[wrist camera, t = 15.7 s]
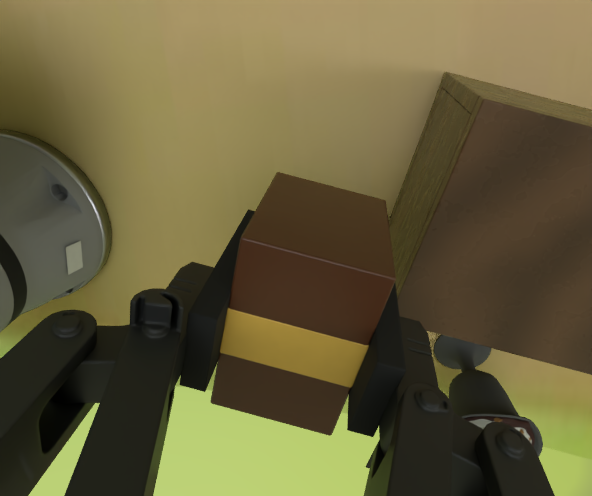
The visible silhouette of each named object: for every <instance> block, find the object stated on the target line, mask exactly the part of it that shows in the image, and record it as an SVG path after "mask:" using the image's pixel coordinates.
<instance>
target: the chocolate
mask: <svg viewBox="0 0 592 496" xmlns="http://www.w3.org/2000/svg"><path fill="white" fill-rule="evenodd" d="M395 281H396V275H395V268H394V260H393V253H392V245H391V238H390V230H389V223H388V215H387V208H386V201H385V200H382V199H378V198H374V197H370V196H367V195H363V194H359V193H355V192H351V191H348V190H344V189H340V188H336V187H333V186H329V185H325V184H321V183H317V182H314V181H310V180H306V179H302V178H299V177H295V176H291V175H287V174H284V173H280V172H277V173H276V175H275V177H274V179H273V180H272V182H271V184H270V186H269V188H268V189H267V191H266V193H265V195H264V197H263V198H262V200H261V202H260V204H259V206H258V207H257V209H256V211H255V213H254V215H253V216H252V218H251V220H250V222H249V224H248V225H247V227H246V229H245V231H244V233H243V234H242V236H241V238H240V243H239V249H238V254H237V260H236V265H235V271H234V276H233V282H232V287H231V294H230V300H229V305H228V309H227V315H226V320H225V326H224V331H223V337H222V342H221V347H220V354H219V359H218V364H217V369H216V375H215V380H214V386H213V391H212V396H211V403H212V404H216V405H220V406H223V407H227V408H230V409H235V410H238V411H241V412H245V413H249V414H252V415H256V416H260V417H264V418H267V419H271V420H275V421H278V422H282V423H286V424H290V425H293V426H297V427H300V428H304V429H308V430H311V431H315V432H319V433H322V434H326V435H332V433H333V430H334V428H335V426H336V423H337V420H338V418H339V416H340V414H341V411H342V409H343V406H344V404H345V401H346V399H347V397H348V394H349V392H350V389H351V387H352V386H353V384H354V381H355V379H356V377H357V374H358V372H359V369H360V367H361V364H362V362H363V360H364V357H365V355H366V352H367V350H368V348H369V343H370V341H371V339H372V336H373V334H374V331H375V329H376V327H377V324H378V322H379V319H380V317H381V315H382V312H383V310H384V307H385V305H386V302H387V300H388V298H389V295H390V293H391V290H392V288H393V286H394V283H395Z"/></svg>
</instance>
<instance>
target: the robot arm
mask: <svg viewBox="0 0 592 496" xmlns="http://www.w3.org/2000/svg"><path fill="white" fill-rule="evenodd" d="M254 213H255V211H252V210H248V211H247V213H246V214H245V216H244V218H243V220H242V221H241V223H240V225H239V226H238V228H237V230H236V232H235V233H234V235H233V237H232V238H231V240H230V242H229V244H228V245H227V247H226V249H225V250H224V252H223V254H222V256H221V257H220V259H219V261H218V262H217V264H216V266H215V268H213V267H210V266H206V265H202V264H198V263H195V262H191V263H189V264H188V265H186V266H184V267H182V268H181V269H180V270H179V271H178V273H177V274H176V276H175V277H174V279H173V280H172V281H171V283H170V284H169V286H168V287H167V288H166V289H148V290H144V291H142V292H140V293H138V294H136V295H135V296H134V297H133V298H132V300H131V303H130V325H125V326H97V323H96V320H95V318H94V317H93V316H92V315H91V314H89V313H87V312H85V311H79V310H64V311H60V312H57V313H54V314H51V315H50V316H48V317H47V318H45V319H44V320H42V321H41V322H40V323H39V324H38V325H37V326H36V327H35V328H34V329H33V330H31V331H30V332H29V333H28V334H27V335H26V336H25V337H24V338H23V339H22V340H21V341H19V342H18V343H17V344H16V345H15V346H14V347H13V348H12V349H11V350H10V351H8V352H7V353H6V354H5V355H4V356H3V357H2V358H1V359H0V496H28V495H29V494H30V492H31V491H32V489H33V488H34V487H35V485H36V484H37V483H38V481H39V480H40V478H41V477H42V476H43V474H44V473H45V471H46V470H47V469H48V467H49V466H50V465H51V463H52V462H53V460H54V459H55V458H56V456H57V455H58V453H59V452H60V451H61V449H62V448H63V447H64V445H65V444H66V442H67V441H68V440H69V438H70V437H71V436H72V434H73V433H74V431H75V430H76V429H77V427H78V426H79V424H80V423H81V422H82V420H83V419H84V418H85V416H86V415H87V413H88V412H89V411H90V409H91V408H92V406H93V405H94V404H95V403H100V404H99V407H98V410H97V413H96V415H95V417H94V420H93V423H92V425H91V428H90V430H89V433H88V436H87V438H86V441H85V444H84V446H83V449H82V452H81V454H80V457H79V459H78V462H77V465H76V467H75V470H74V473H73V475H72V477H71V480H70V483H69V485H68V488H67V490H66V493H65V496H153V493H154V488H155V483H156V479H157V474H158V469H159V464H160V460H161V455H162V450H163V445H164V441H165V436H166V431H167V425H168V421H169V416H170V412H171V407H172V401H173V398H174V389H175V385H176V383H177V381H178V379H179V377H180V375H181V378H180V385H182V386H186V387H189V388H194V389H197V390H200V391H204V392H205V391H206V388H207V386H208V384H209V381H210V379H211V376H212V374H213V372H214V369H215V367H216V364H217V362H218V359H219V354H220V347H221V342H222V337H223V331H224V326H225V320H226V315H227V309H228V305H229V300H230V294H231V287H232V282H233V276H234V271H235V265H236V260H237V254H238V249H239V243H240V238H241V236H242V234H243V233H244V231H245V229H246V227H247V225H248V224H249V222H250V220H251V218H252V216H253V215H254ZM110 248H111V227H110V221H109V218H108V214H107V211H106V209H105V206H104V204H103V202H102V199H101V198H100V196H99V194H98V192H97V191H96V189H95V188H94V186H93V185H92V183H91V182H90V181H89V179H88V178H87V177H86V175H85V174H84V173H83V172H82V171H81V170H80V169H79V168H78V167H77V166H76V165H75V164H74V163H73V162H72V161H71V160H70V159H68V158H67V157H66V156H65V155H63V154H62V153H61V152H59V151H58V150H56V149H55V148H53V147H52V146H50V145H48V144H47V143H45V142H43V141H41V140H39V139H36V138H34V137H31V136H29V135H26V134H23V133H19V132H14V131H8V130H0V332H1V331H2V330H3V329H4V328H5V327H7V326H8V325H9V324H10V323H11V322H12V321H13V320H15V319H16V318H17V317H18V316H19V315H20V314H22V313H25V312H27V311H30V310H32V309H35V308H37V307H39V306H41V305H43V304H45V303H47V302H49V301H50V300H52V299H57V298H61V297H64V296H66V295H69V294H71V293H73V292H75V291H77V290H78V289H80V288H81V287H83V286H84V285H86V284H87V283H88V282H89V281H90V280H91V279H92V278H93V277H94V276H95V275H96V274H97V273H98V272H99V271H100V270H101V269H102V268H103V266H104V265H105V263H106V261H107V259H108V256H109V253H110ZM431 355H432V352H431V348H430V343H429V338H428V333H427V332H426V330H425V329H424V327H423V326H422V324H421V323H420V321H416V320H412V319H409V318H405V317H401V316H399V308H398V299H397V291H396V283H394V286H393V288H392V290H391V293H390V295H389V298H388V300H387V302H386V305H385V307H384V310H383V312H382V315H381V317H380V319H379V322H378V324H377V327H376V329H375V331H374V334H373V336H372V339H371V341H370V343H369V348H368V350H367V352H366V355H365V357H364V360H363V362H362V364H361V367H360V369H359V372H358V374H357V377H356V379H355V381H354V384H353V386H352V387H351V389H350V392H349V402H348V429H347V430H349V431H353V432H357V433H360V434H364V435H367V436H371V437H373V436H374V434H375V432H376V430H377V428H378V426H379V433H380V440H379V442H378V444H377V446H376V448H375V450H374V451H373V453H372V455H371V457H370V459H369V461H368V463H367V465H366V467H367V468H370V471H369V475H368V480H367V484H366V489H365V493H364V496H555V495H554V493H553V491H552V488H551V486H550V484H549V481H548V479H547V476H546V474H545V472H544V469H543V467H542V465H541V462H540V460H539V457H538V455H537V453H536V451H535V449H534V447H533V446H532V444H531V442H530V441H529V440H528V439H527V438H526V437H525V436H524V435H523V434H522V433H521V432H520V431H518V430H517V429H515V428H514V427H512V426H510V425H508V424H505V423H503V422H491V423H488V424H487V425H486V426H485V427H484V429H482V428H480V427H479V426H477V425H475V424H473V423H471V422H469V421H467V420H466V419H464V418H462V417H461V416H459V415H458V414H456V413H455V412H454V411H453V407H452V404H451V402H450V400H449V399H448V397H447V396H446V395H445V394H444V393H443V392H442V391H441V390H440V389H439V387H438V382H437V377H436V372H435V367H434V362H433V357H432V356H431Z"/></svg>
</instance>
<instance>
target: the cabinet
mask: <svg viewBox="0 0 592 496" xmlns="http://www.w3.org/2000/svg"><path fill="white" fill-rule="evenodd" d="M388 223H389V230H390V238H391V245H392V253H393V260H394V268H395V275H396V281H395V283H396V291H397V299H398V308H399V316H401V317H405V318H409V319H412V320H416V321H420V323H421V324H422V326H423V327H424V329H425V330H426V331H430V332H434V333H438V334H441V335H445V336H449V337H452V338H456V339H460V340H464V341H467V342H471V343H475V344H479V345H482V346H486V347H490V348H494V349H497V350H501V351H505V352H509V353H512V354H516V355H520V356H524V357H527V358H531V359H535V360H539V361H542V362H546V363H550V364H554V365H557V366H561V367H565V368H569V369H572V370H576V371H580V372H584V373H587V374H591V375H592V110H590V109H586V108H582V107H578V106H574V105H571V104H567V103H563V102H559V101H555V100H551V99H548V98H544V97H540V96H536V95H532V94H529V93H525V92H521V91H517V90H513V89H509V88H506V87H502V86H498V85H494V84H490V83H486V82H483V81H479V80H475V79H471V78H467V77H464V76H460V75H456V74H452V73H448V72H445V74H444V76H443V79H442V82H441V84H440V87H439V90H438V92H437V95H436V98H435V100H434V103H433V106H432V108H431V111H430V114H429V116H428V119H427V121H426V124H425V127H424V129H423V132H422V135H421V137H420V140H419V143H418V145H417V148H416V151H415V153H414V156H413V159H412V161H411V164H410V167H409V169H408V172H407V175H406V177H405V180H404V183H403V185H402V188H401V191H400V193H399V196H398V199H397V201H396V204H395V207H394V209H393V212H392V215H391V217H390V220H389V222H388Z"/></svg>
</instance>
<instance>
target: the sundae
mask: <svg viewBox="0 0 592 496" xmlns="http://www.w3.org/2000/svg"><path fill="white" fill-rule="evenodd" d="M490 351H491V348H490V347H486V346H482V345H479V344H475V343H471V342H467V341H464V340H460V339H456V338H452V337H449V336H445V335H441V336H440V337H439V338H438V340H437V341H436V343H435V346H434V353H435V356H436V358H437V360H438V361H439V362H440V363H442V364H443V365H444V366H447V367H449V368H453V369H461V371H462V373H460V374H458V375H457V376H456V377H455V378H454V379H453V380H452V382H451V384H450V387H449V400H450V402H451V404H452V407H453V411H454V412H455V413H456V414H458V415H459V416H461V417H462V418H464V419H466V420H467V421H469V422H471V423H473V424H475V425H477V426H479V427H480V428H482V429H484V427H485V426H486V425H487V424H488V423H491V422H503V423H505V424H508V425H510V426H512V427H514V428H515V429H517V430H518V431H520V432H521V433H522V434H523V435H524V436H525V437H526V438H527V439H528V440H529V441H530V442H531V444H532V446H533V447H534V449H535V451H536V453H537V455H538V457H539V455H540V453H541V451H542V447H543V442H542V437H541V434H540V432H539V430H538V428H537V427H536V425H535V424H534V423H533V422H532V421H531V420H530V419H527V418H525V417H520V416H519V415H518V413H517V412H516V410H515V408H514V406H513V404H512V403H511V401H510V399H509V397H508V395H507V394H506V392H505V390H504V389H503V388H502V386H501V385H500V383H499V382H498V380H497V379H496V378H495V377H494V376H492V375H491V374H489V373H485V372H482V371H479V370H476V369H475V367H476V366H478V365H480V364H482V363H483V362H484V361H485V360H486V359H487V358H488V356H489V355H490Z"/></svg>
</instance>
